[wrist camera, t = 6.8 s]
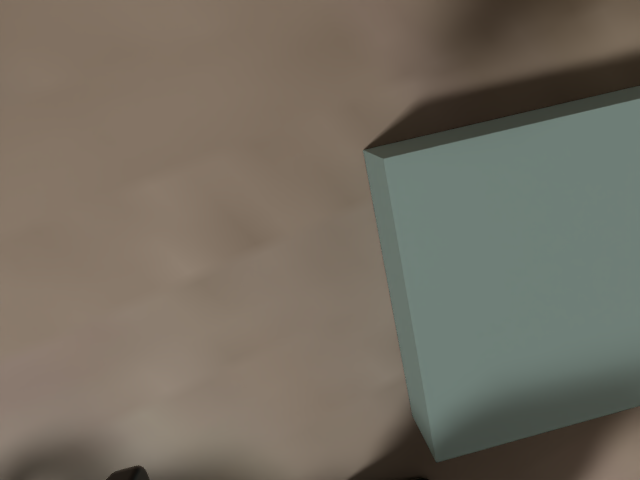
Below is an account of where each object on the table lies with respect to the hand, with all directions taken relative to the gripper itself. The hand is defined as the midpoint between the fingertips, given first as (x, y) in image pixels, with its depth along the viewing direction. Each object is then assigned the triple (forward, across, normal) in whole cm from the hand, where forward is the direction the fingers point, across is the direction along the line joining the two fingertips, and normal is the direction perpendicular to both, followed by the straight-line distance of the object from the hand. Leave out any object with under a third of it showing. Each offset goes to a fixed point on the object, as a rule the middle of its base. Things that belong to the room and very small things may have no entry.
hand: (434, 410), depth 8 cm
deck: (+12, -13, +4) cm, 18 cm away
